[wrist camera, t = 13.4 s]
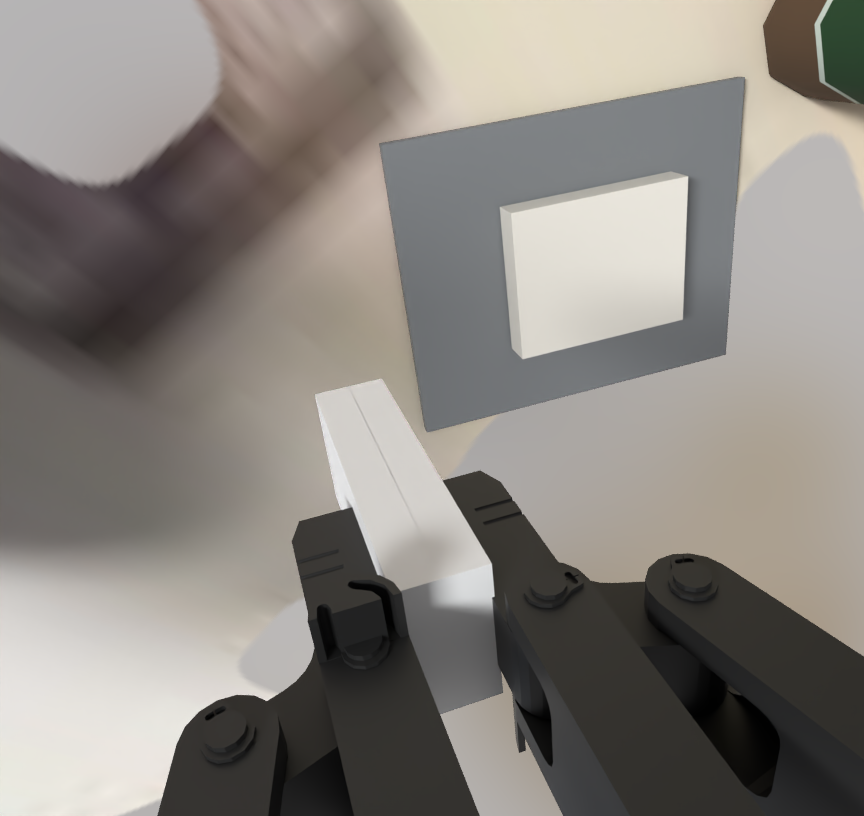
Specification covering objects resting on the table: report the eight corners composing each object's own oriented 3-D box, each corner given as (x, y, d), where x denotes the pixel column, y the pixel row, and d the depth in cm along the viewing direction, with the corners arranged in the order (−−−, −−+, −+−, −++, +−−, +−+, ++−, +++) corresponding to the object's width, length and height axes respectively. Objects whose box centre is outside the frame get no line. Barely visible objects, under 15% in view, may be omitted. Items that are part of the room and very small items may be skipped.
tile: (522, 359, 45) (682, 319, 47) (511, 213, 40) (688, 176, 42) (511, 347, 46) (666, 309, 48) (498, 206, 42) (669, 171, 44)
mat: (424, 428, 48) (427, 432, 48) (379, 143, 39) (381, 144, 39) (720, 351, 52) (725, 354, 51) (738, 76, 43) (744, 77, 43)
